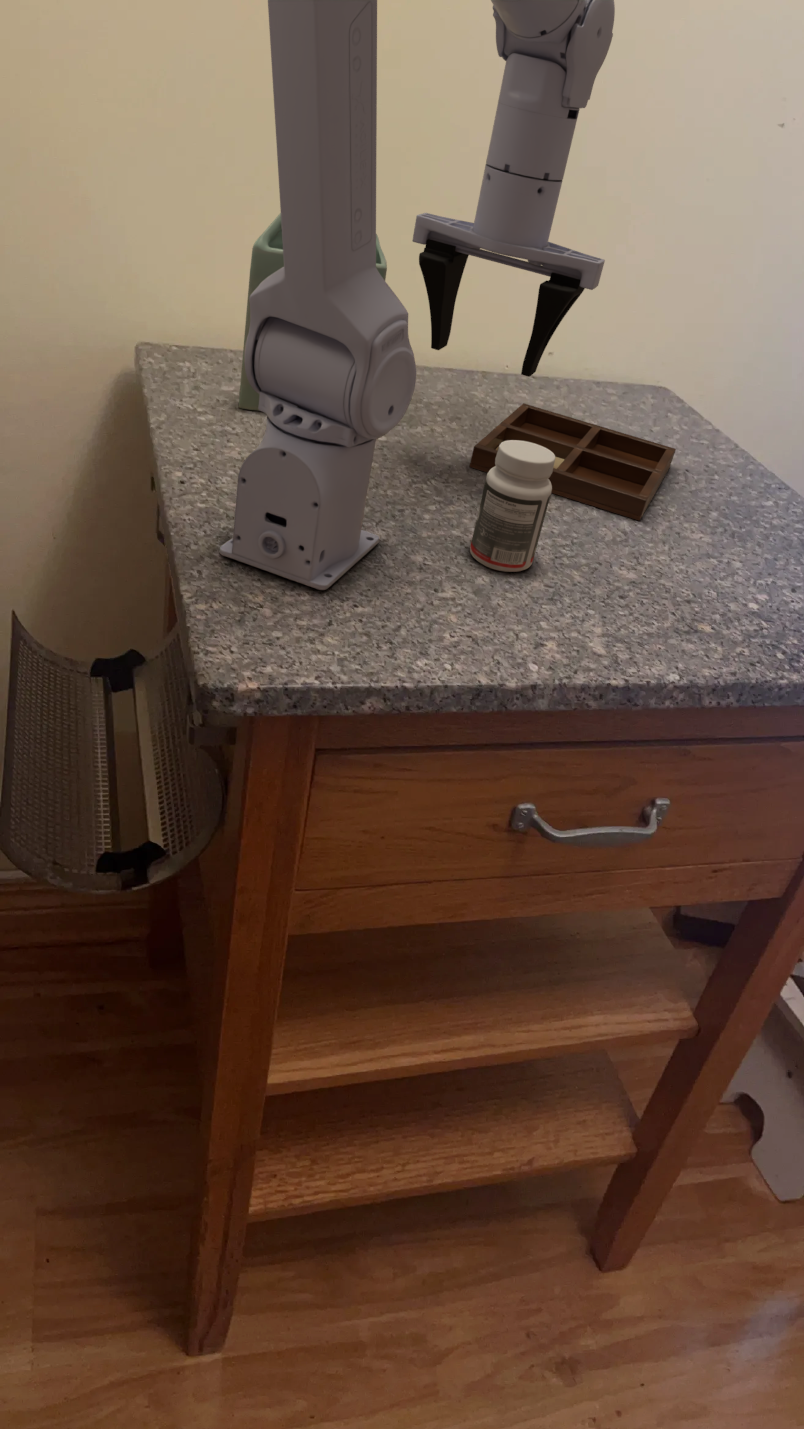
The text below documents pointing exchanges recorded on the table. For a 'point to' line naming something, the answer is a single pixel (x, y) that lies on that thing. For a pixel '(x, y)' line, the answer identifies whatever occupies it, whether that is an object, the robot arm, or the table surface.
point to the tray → (585, 459)
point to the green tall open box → (263, 265)
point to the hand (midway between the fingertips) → (483, 360)
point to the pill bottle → (513, 506)
